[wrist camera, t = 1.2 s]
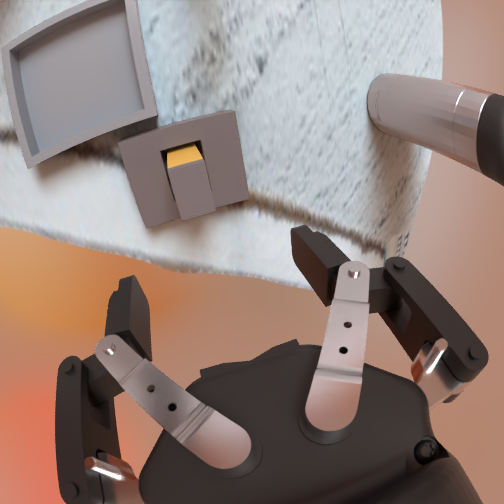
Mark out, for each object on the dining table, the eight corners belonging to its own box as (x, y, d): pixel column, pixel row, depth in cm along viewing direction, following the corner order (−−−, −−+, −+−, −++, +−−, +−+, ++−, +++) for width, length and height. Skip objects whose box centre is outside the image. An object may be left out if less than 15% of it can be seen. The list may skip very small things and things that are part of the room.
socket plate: (229, 109, 27) (235, 111, 25) (243, 191, 33) (249, 198, 31) (121, 139, 25) (117, 143, 23) (146, 219, 31) (146, 228, 29)
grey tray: (136, -6, 16) (133, -16, 14) (158, 113, 25) (157, 115, 22) (13, 49, 14) (1, 48, 11) (38, 161, 22) (27, 169, 20)
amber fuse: (193, 142, 28) (204, 161, 21) (202, 179, 30) (216, 211, 23) (167, 149, 27) (167, 171, 20) (176, 186, 30) (182, 221, 23)
